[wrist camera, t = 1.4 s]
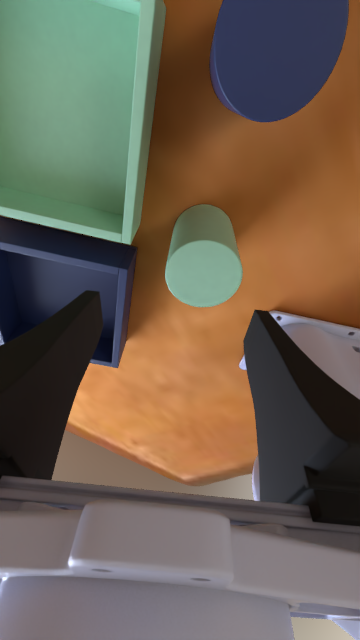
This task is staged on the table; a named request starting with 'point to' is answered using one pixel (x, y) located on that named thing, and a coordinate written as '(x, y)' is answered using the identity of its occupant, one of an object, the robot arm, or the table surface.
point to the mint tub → (78, 111)
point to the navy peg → (275, 54)
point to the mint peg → (203, 257)
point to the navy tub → (63, 281)
